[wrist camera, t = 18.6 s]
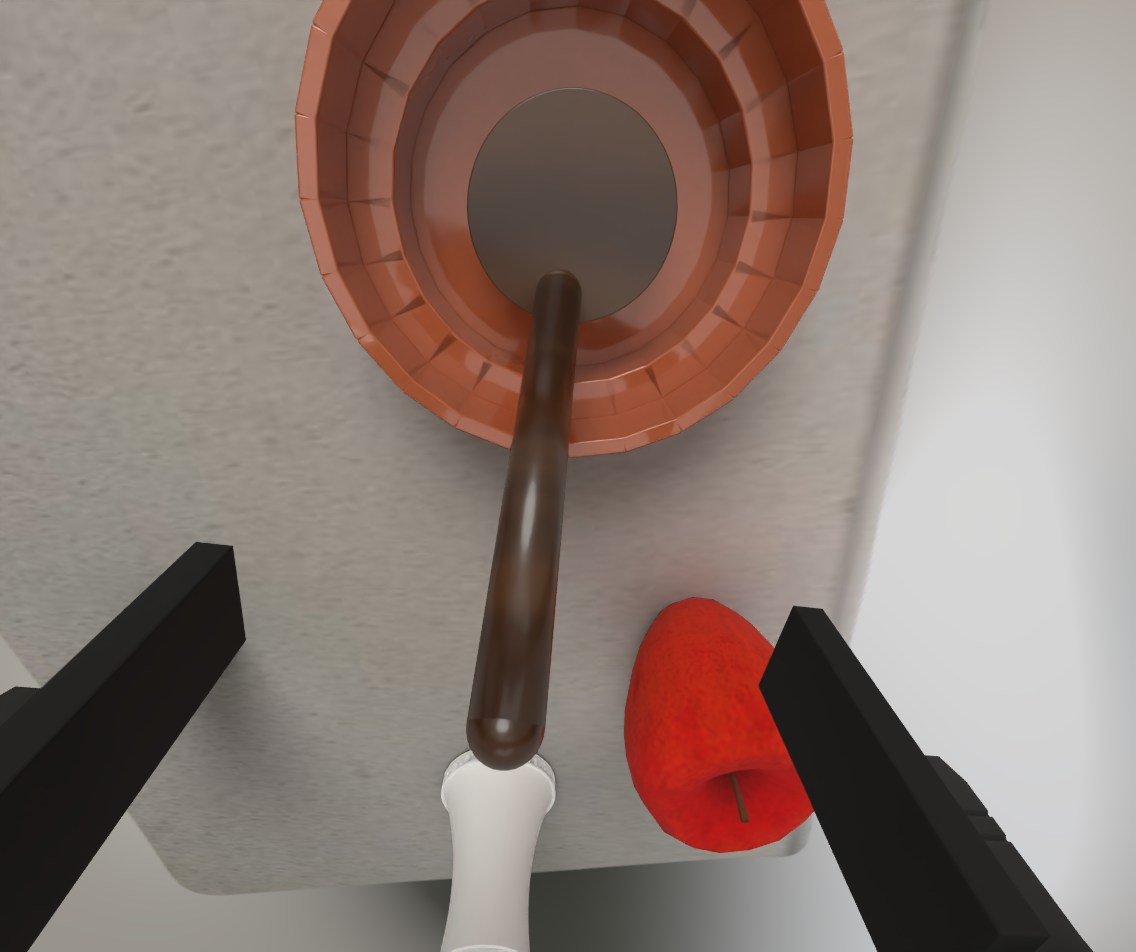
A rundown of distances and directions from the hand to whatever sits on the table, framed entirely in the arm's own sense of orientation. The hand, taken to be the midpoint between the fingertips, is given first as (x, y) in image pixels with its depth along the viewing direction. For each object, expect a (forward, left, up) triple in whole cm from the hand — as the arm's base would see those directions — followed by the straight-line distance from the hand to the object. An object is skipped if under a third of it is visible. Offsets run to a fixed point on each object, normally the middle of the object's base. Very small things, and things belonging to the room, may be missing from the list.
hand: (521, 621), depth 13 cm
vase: (+1, -26, -14) cm, 29 cm away
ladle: (0, +6, -13) cm, 14 cm away
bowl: (0, +9, -13) cm, 16 cm away
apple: (+10, -11, -14) cm, 20 cm away
